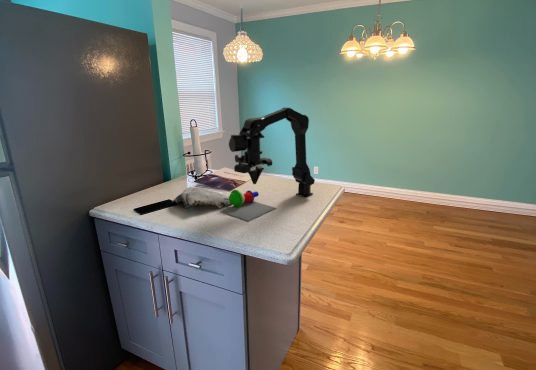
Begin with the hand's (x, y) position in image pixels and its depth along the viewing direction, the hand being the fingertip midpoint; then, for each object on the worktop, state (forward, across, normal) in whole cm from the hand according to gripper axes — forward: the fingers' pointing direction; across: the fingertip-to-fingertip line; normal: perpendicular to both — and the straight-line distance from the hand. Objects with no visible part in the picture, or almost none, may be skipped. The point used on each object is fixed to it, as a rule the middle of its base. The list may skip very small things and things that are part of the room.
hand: (254, 184), depth 133 cm
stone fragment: (+12, +11, -24) cm, 29 cm away
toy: (+7, -7, -6) cm, 11 cm away
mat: (+11, +4, 0) cm, 12 cm away
